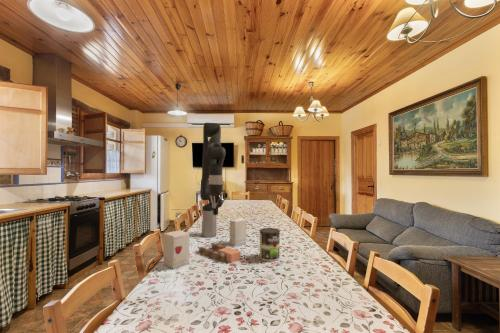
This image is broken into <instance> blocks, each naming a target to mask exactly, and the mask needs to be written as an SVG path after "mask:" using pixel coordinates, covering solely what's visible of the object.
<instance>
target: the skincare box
mask: <svg viewBox="0 0 500 333" xmlns="http://www.w3.org/2000/svg"><path fill="white" fill-rule="evenodd" d="M246 235H247V220H246V219H244V218H241V217H240V218H236V219H230V220H229V245H231V246H234V247H238V246H243V245H246V244H247V236H246Z"/></svg>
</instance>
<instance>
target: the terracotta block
mask: <svg viewBox="0 0 500 333" xmlns="http://www.w3.org/2000/svg"><path fill="white" fill-rule="evenodd" d="M225 247H226V246H225ZM234 249H235V248H231V247H226V248H223V249H220V250H218V251H217V253H220V254H221V253H225V254H226V255H225V261H224V262H229V263H236V262H238V261H241V259H242V258H241V251H240V250H238V251H237V250H234Z"/></svg>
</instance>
